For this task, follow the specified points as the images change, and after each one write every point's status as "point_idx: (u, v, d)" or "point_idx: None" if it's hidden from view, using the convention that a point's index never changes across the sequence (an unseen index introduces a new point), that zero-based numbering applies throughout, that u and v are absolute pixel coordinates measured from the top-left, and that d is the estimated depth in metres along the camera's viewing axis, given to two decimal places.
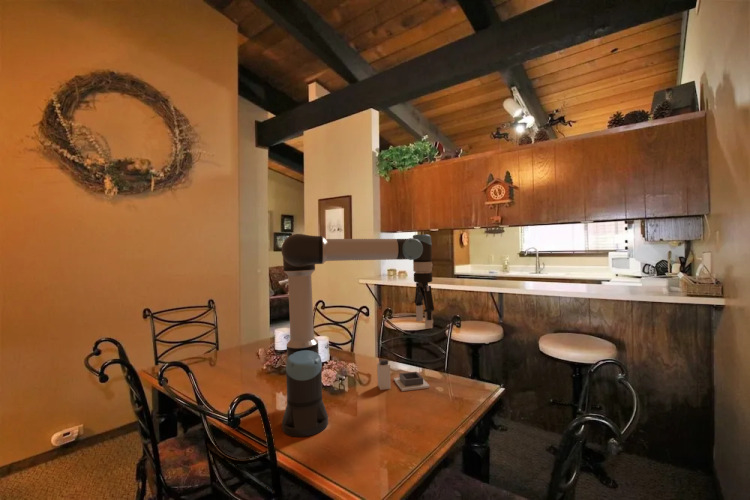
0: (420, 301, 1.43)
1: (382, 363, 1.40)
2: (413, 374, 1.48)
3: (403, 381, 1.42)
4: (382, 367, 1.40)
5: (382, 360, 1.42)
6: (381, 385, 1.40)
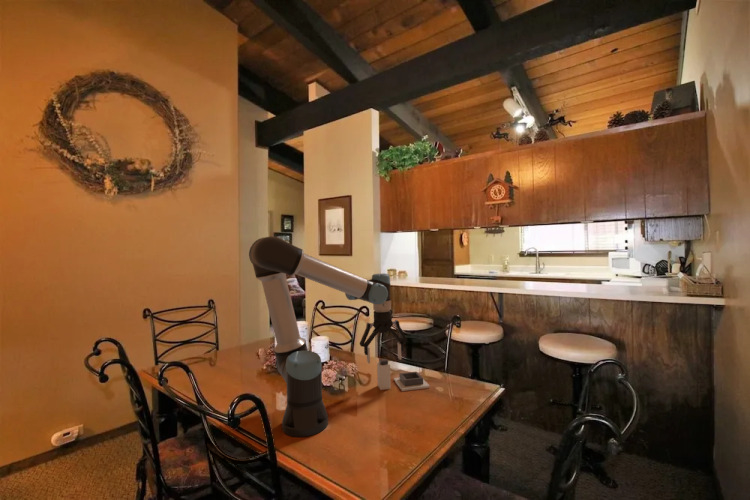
0: (397, 339, 1.43)
1: (382, 363, 1.40)
2: (413, 374, 1.48)
3: (403, 381, 1.42)
4: (382, 367, 1.40)
5: (382, 360, 1.42)
6: (381, 385, 1.40)
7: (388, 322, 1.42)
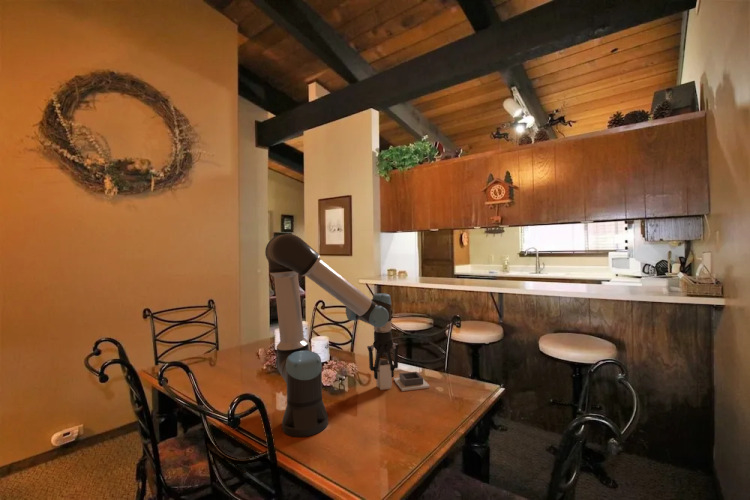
0: (389, 363, 1.42)
1: (382, 363, 1.40)
2: (413, 374, 1.48)
3: (403, 381, 1.42)
4: (382, 367, 1.40)
5: (382, 360, 1.42)
6: (381, 385, 1.40)
7: (388, 342, 1.41)
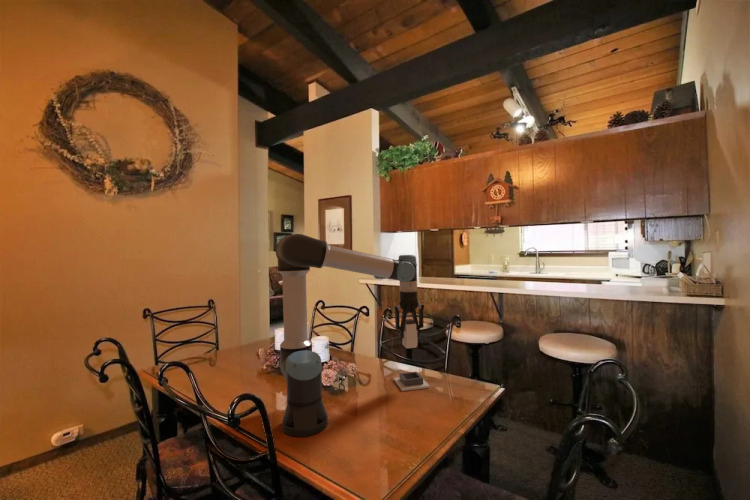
0: (415, 323, 1.45)
1: (408, 322, 1.43)
2: (413, 374, 1.48)
3: (403, 381, 1.42)
4: (408, 326, 1.42)
5: (408, 320, 1.44)
6: (407, 344, 1.42)
7: (414, 302, 1.44)
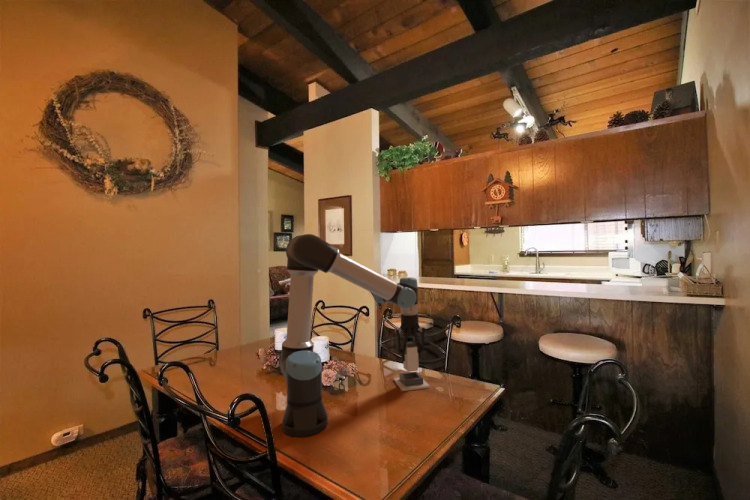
0: (416, 346, 1.45)
1: (409, 345, 1.43)
2: (413, 374, 1.48)
3: (403, 381, 1.42)
4: (409, 349, 1.42)
5: (409, 343, 1.44)
6: (408, 367, 1.42)
7: (415, 325, 1.44)
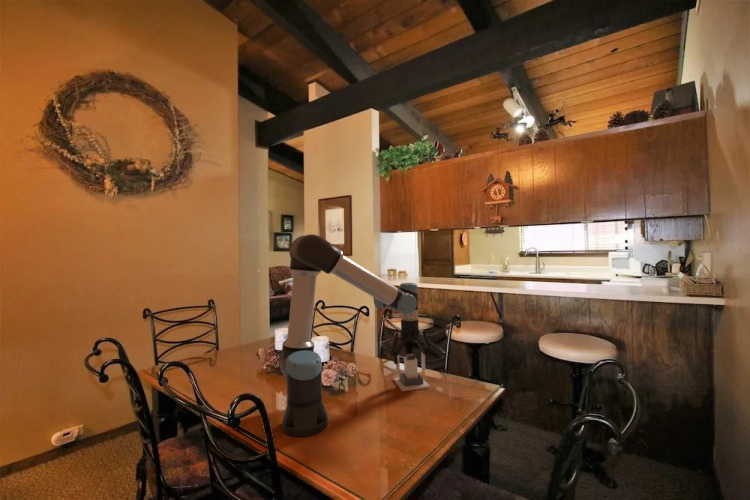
0: (421, 349, 1.46)
1: (409, 358, 1.43)
2: None
3: (403, 381, 1.42)
4: (409, 362, 1.42)
5: (409, 355, 1.44)
6: None
7: (415, 331, 1.44)
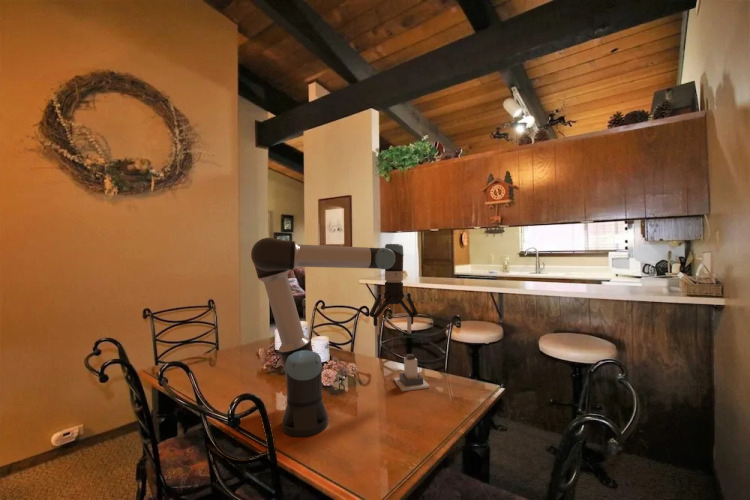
0: (407, 312, 1.39)
1: (409, 358, 1.43)
2: None
3: (403, 381, 1.42)
4: (409, 362, 1.42)
5: (409, 355, 1.44)
6: None
7: (399, 294, 1.38)
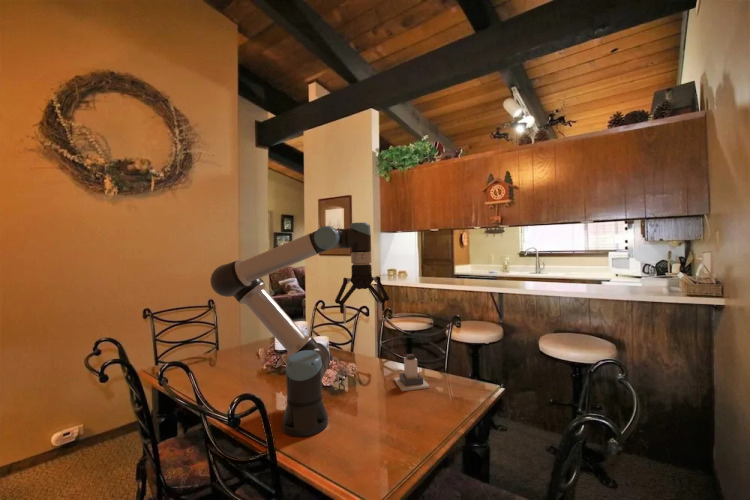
0: (377, 297, 1.27)
1: (409, 358, 1.43)
2: None
3: (403, 381, 1.42)
4: (409, 362, 1.42)
5: (409, 355, 1.44)
6: None
7: (368, 277, 1.25)
